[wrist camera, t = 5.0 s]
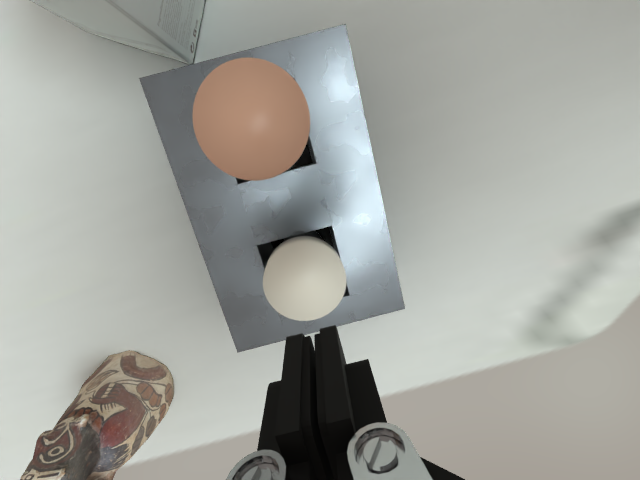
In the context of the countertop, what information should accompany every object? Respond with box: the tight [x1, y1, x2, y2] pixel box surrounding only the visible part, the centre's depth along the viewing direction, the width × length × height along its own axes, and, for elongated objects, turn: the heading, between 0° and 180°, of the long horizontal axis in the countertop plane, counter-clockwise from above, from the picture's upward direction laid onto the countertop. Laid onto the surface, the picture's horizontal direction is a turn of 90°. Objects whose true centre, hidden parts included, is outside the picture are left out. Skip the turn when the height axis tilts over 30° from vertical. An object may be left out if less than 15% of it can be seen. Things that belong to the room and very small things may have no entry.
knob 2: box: [263, 230, 346, 321], centre depth 23 cm, size 5×5×8 cm
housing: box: [139, 24, 405, 352], centre depth 24 cm, size 12×18×6 cm, turn 14°
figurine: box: [20, 350, 173, 480], centre depth 24 cm, size 7×7×12 cm
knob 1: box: [193, 58, 310, 181], centre depth 18 cm, size 5×5×8 cm
